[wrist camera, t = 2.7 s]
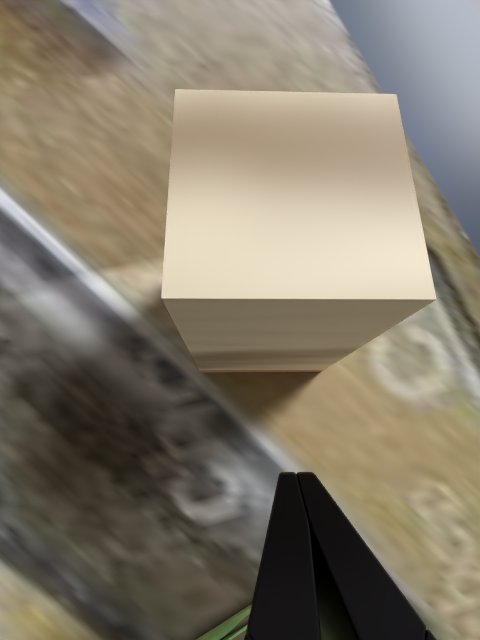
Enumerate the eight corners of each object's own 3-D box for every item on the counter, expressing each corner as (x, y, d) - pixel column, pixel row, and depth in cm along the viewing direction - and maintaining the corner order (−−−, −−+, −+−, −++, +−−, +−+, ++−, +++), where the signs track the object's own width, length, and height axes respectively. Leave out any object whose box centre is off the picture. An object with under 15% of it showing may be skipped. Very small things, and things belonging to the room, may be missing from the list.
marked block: (320, 371, 17) (436, 299, 7) (199, 372, 17) (161, 298, 7) (312, 263, 19) (395, 94, 9) (203, 262, 19) (175, 89, 9)
